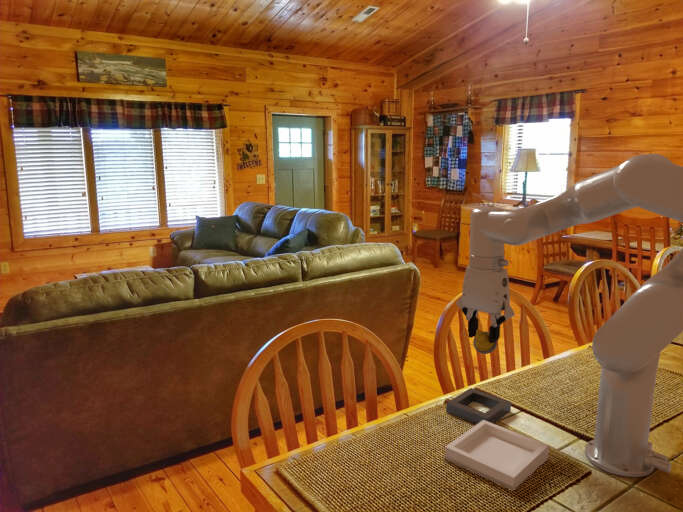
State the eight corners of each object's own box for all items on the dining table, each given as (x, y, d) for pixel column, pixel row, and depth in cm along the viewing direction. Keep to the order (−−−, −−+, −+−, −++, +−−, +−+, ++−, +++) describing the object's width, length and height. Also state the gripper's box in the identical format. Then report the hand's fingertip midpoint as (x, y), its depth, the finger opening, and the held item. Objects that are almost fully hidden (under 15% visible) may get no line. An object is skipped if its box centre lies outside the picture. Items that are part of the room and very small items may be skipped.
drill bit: (503, 354, 125) (492, 335, 118) (481, 362, 127) (469, 343, 120) (496, 335, 129) (484, 315, 122) (475, 343, 130) (462, 324, 123)
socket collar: (510, 411, 129) (511, 401, 129) (487, 428, 122) (487, 418, 121) (470, 396, 137) (470, 387, 136) (446, 412, 129) (446, 402, 129)
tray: (548, 458, 110) (549, 445, 109) (513, 492, 99) (513, 477, 99) (482, 432, 120) (483, 419, 120) (444, 459, 110) (445, 446, 109)
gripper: (529, 264, 118) (525, 343, 121) (462, 254, 130) (460, 326, 133) (512, 270, 113) (509, 352, 116) (445, 259, 124) (443, 334, 128)
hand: (483, 337), depth 125 cm, fingers closed on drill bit, 4 cm apart
